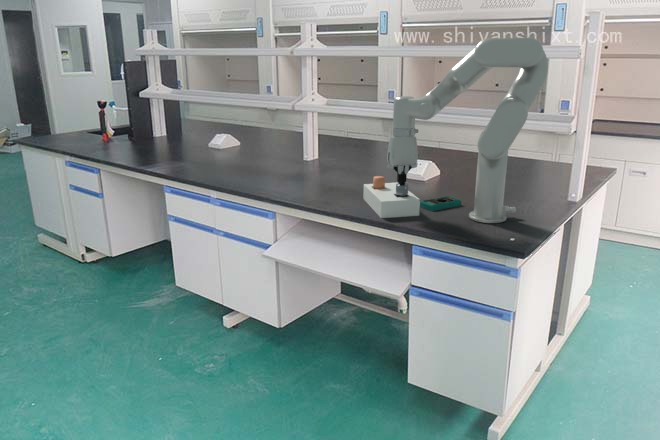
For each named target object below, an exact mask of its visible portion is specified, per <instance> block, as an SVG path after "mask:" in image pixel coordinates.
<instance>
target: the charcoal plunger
mask: <svg viewBox="0 0 660 440" xmlns="http://www.w3.org/2000/svg"><path fill="white" fill-rule="evenodd" d="M408 191H409V183H407V182H405V185H400V184H399V183H398V184H396V197H408Z"/></svg>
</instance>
